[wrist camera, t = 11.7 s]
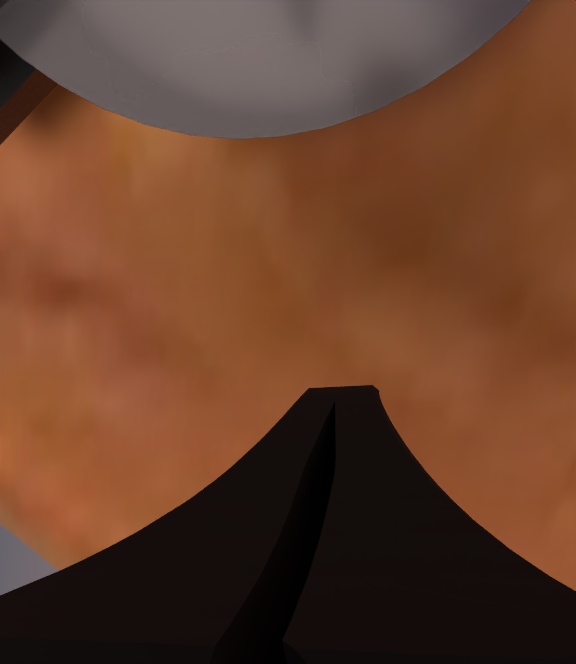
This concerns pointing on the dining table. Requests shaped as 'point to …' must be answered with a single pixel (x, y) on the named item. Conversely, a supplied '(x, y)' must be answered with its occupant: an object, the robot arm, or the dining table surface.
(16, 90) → the cooker pot
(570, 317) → the dining table surface
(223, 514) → the robot arm
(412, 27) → the lid
